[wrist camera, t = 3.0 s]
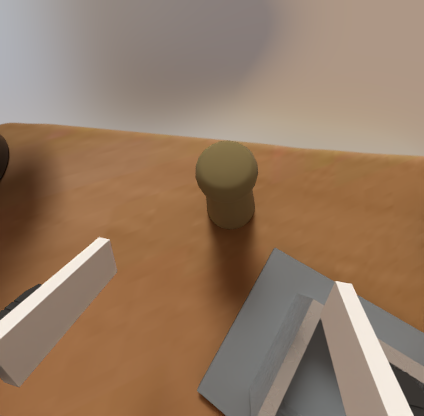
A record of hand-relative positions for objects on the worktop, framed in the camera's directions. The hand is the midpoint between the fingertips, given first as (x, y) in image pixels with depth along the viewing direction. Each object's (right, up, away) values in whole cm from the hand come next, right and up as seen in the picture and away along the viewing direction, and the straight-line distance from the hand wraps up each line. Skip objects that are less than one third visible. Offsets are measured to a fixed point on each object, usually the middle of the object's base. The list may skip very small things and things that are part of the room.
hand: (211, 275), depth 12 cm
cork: (+2, +4, +14) cm, 15 cm away
